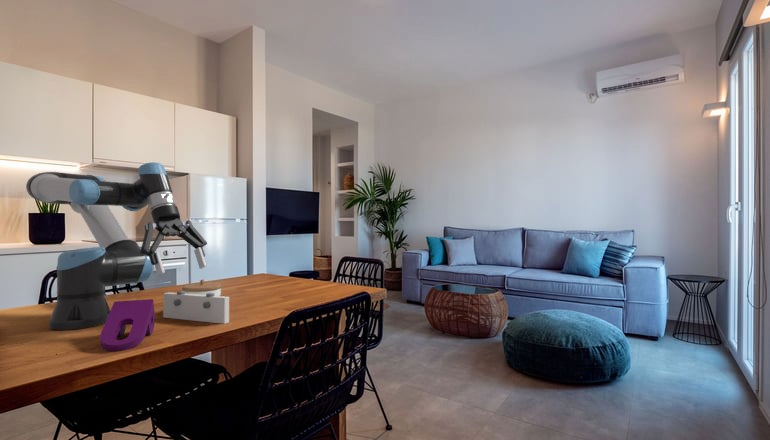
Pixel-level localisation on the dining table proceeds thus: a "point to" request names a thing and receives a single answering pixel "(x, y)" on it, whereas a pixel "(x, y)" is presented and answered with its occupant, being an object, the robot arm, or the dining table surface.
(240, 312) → the dining table surface
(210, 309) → the hinge seat
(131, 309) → the mounting bracket
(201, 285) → the lidded bowl
